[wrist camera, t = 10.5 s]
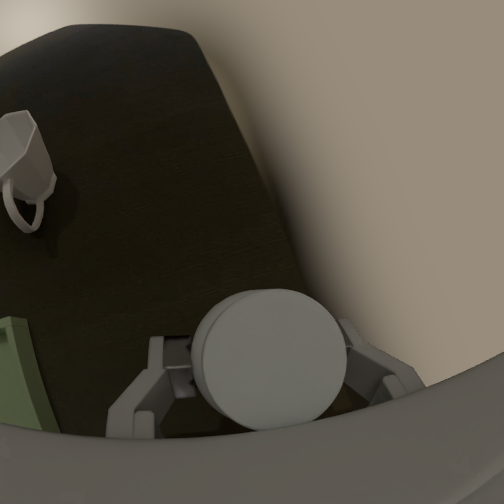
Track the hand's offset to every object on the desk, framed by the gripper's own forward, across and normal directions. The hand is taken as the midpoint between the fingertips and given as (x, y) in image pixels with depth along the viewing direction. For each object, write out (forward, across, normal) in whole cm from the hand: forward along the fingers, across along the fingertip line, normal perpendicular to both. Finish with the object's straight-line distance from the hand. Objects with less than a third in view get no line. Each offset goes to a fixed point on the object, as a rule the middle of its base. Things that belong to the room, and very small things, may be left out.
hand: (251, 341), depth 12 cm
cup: (+19, +17, 0) cm, 26 cm away
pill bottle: (+3, 0, +4) cm, 5 cm away
